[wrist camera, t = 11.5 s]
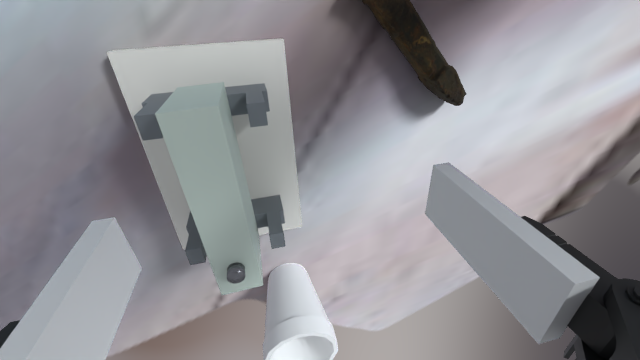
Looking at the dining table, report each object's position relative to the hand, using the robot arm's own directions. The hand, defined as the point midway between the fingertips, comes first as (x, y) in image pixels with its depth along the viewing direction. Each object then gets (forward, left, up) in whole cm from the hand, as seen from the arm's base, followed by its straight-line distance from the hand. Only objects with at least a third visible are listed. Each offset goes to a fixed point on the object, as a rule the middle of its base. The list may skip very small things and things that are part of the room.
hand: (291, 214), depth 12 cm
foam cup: (0, +30, -24) cm, 38 cm away
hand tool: (-18, -4, -24) cm, 30 cm away
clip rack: (+5, +7, -23) cm, 25 cm away
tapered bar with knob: (+5, +7, -18) cm, 20 cm away
